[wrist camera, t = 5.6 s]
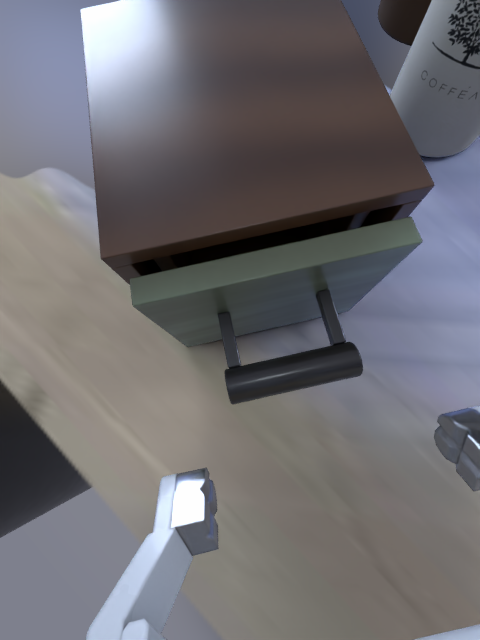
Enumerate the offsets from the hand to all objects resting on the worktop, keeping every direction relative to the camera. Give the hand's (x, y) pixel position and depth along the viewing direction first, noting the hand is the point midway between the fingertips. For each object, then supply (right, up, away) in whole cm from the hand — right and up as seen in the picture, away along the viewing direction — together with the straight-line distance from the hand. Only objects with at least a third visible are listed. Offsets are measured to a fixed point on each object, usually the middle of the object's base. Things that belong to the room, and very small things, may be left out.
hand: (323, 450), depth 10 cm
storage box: (-3, +12, +13) cm, 18 cm away
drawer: (-2, +8, +11) cm, 14 cm away
